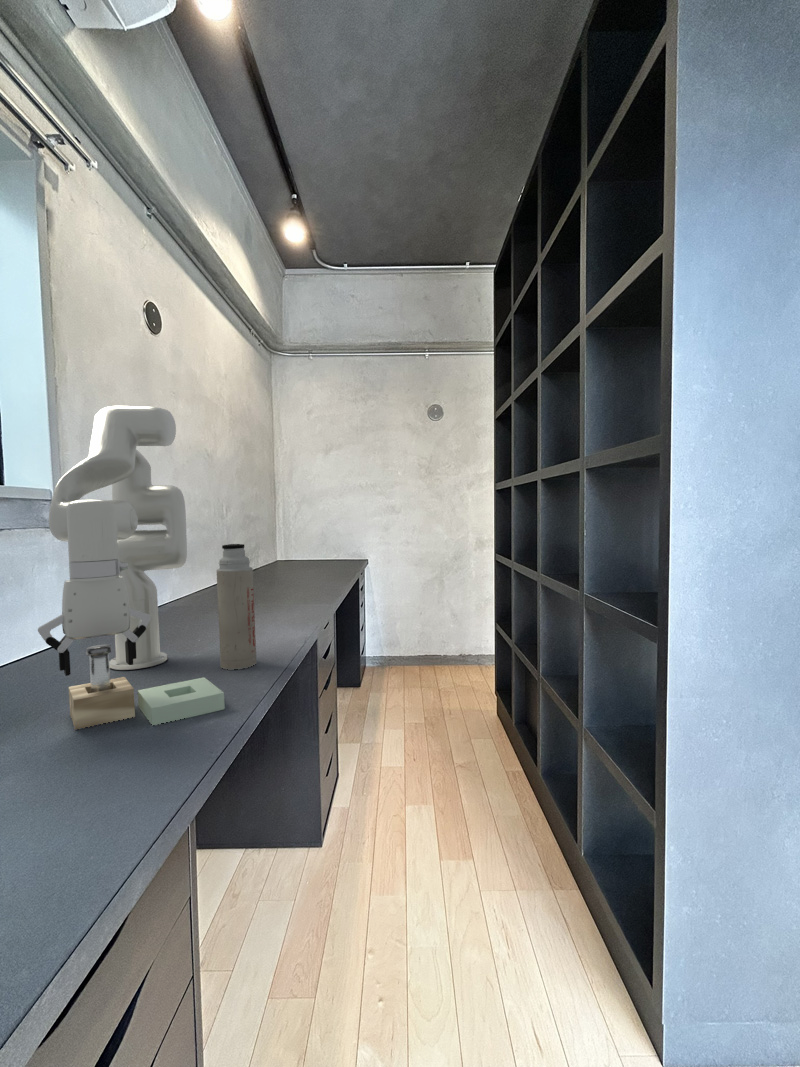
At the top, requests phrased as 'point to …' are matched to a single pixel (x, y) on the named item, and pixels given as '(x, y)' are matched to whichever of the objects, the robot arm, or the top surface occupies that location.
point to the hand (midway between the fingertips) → (99, 668)
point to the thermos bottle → (236, 609)
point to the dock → (180, 700)
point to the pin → (99, 667)
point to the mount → (101, 703)
